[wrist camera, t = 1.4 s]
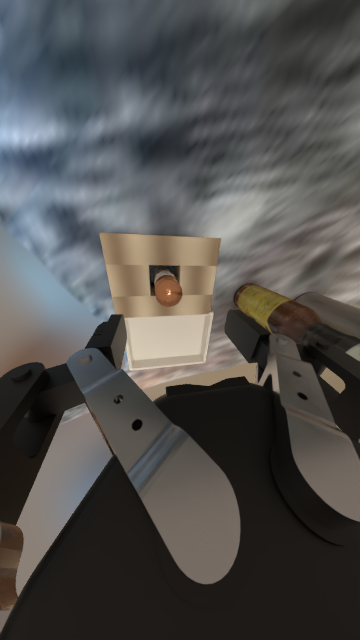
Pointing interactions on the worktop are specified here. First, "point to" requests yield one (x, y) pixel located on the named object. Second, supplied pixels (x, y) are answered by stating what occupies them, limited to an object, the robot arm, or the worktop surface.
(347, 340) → the sauce bottle
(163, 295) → the copper and grey cylinder
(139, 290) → the block
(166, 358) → the tray
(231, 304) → the worktop surface
